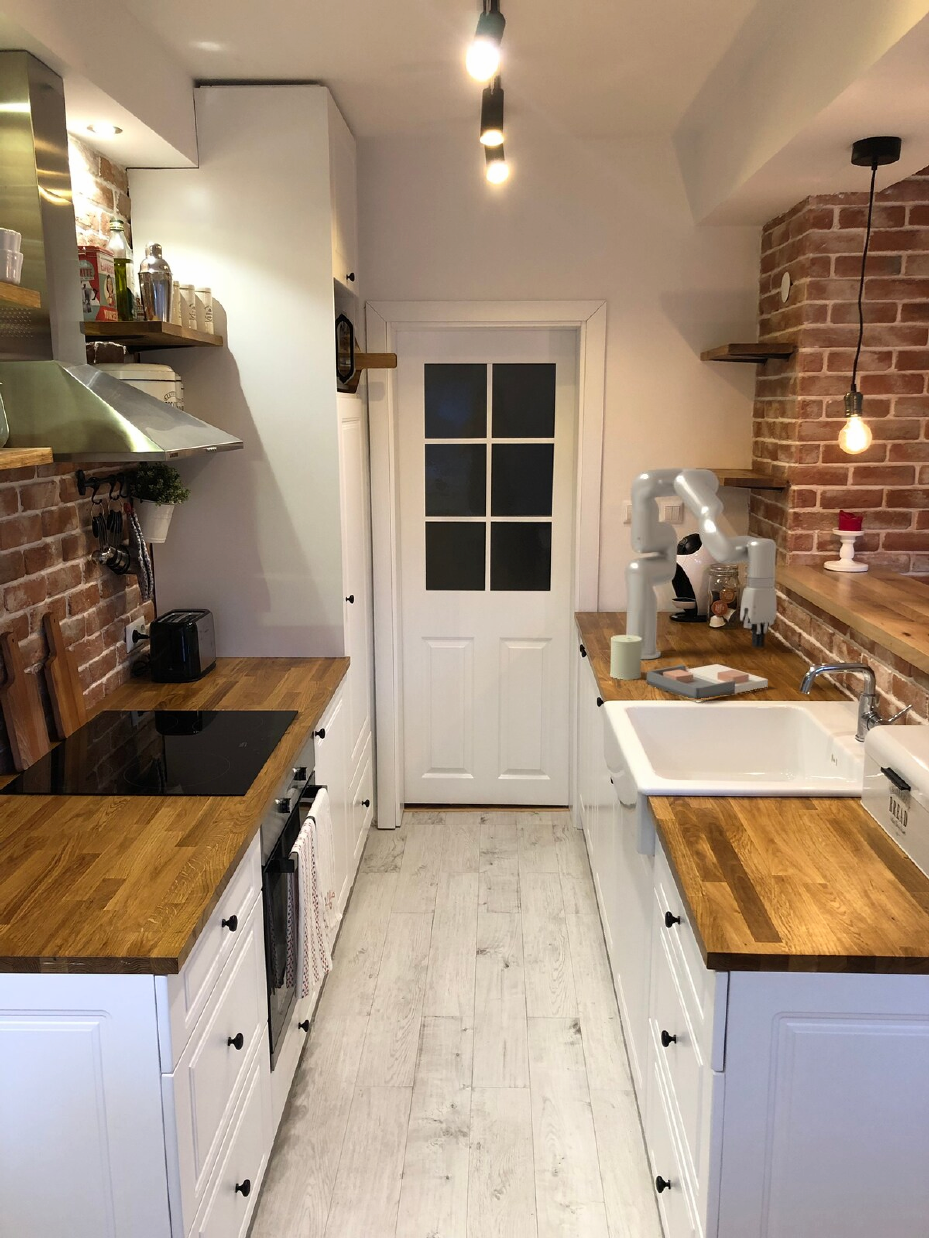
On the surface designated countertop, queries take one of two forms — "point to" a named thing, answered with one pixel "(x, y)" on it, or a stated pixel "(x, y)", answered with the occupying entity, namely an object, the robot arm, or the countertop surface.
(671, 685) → the tray
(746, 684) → the plate
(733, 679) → the tile
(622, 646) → the can
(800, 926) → the countertop surface
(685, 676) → the tile
